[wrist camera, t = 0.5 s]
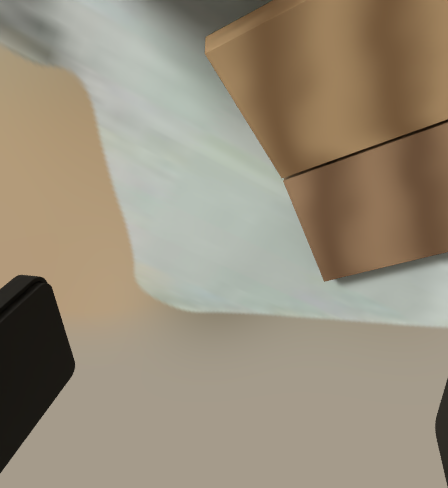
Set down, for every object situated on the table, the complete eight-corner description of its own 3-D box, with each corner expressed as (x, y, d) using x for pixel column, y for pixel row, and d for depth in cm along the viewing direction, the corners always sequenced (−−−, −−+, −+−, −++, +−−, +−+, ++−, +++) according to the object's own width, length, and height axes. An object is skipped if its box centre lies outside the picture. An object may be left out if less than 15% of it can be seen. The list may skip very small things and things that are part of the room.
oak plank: (618, -188, 17) (643, -177, 16) (575, 51, 26) (590, 68, 25) (205, 37, 25) (205, 53, 24) (280, 162, 34) (281, 178, 33)
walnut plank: (574, 69, 27) (589, 72, 25) (590, 203, 30) (604, 214, 29) (285, 173, 35) (283, 181, 33) (324, 270, 38) (324, 281, 36)
